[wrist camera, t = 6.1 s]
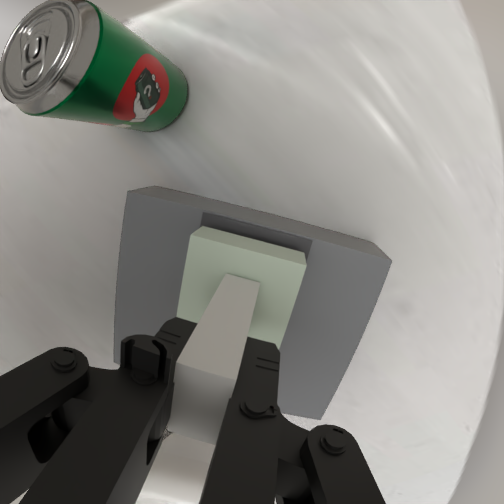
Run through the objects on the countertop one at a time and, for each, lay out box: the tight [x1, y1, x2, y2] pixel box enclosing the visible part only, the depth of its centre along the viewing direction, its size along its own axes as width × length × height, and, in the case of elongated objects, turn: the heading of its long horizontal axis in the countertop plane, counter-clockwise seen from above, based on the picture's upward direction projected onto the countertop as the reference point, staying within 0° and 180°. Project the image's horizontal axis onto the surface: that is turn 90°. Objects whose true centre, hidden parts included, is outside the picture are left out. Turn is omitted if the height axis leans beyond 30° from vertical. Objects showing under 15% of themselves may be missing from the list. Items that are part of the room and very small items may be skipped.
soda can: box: [0, 0, 187, 132], centre depth 13 cm, size 5×5×12 cm
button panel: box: [114, 186, 392, 420], centre depth 20 cm, size 15×12×4 cm
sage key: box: [176, 226, 307, 350], centre depth 15 cm, size 5×5×2 cm
